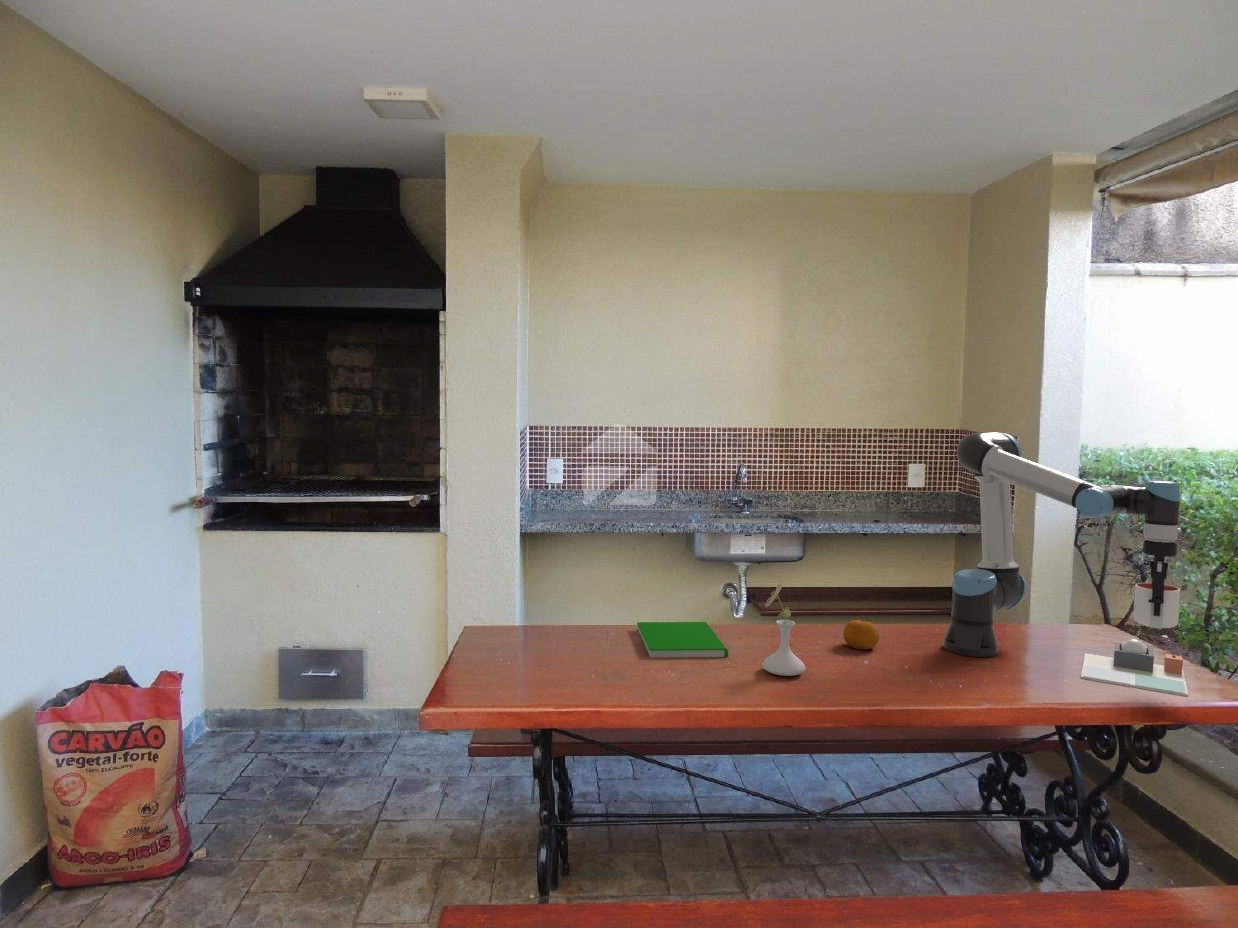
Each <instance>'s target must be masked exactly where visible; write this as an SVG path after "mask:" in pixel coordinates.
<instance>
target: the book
mask: <svg viewBox="0 0 1238 928" xmlns="http://www.w3.org/2000/svg"><path fill="white" fill-rule="evenodd" d="M636 624H637V631H638V633H639V636H640V638H641V639H642V642H643V645H644V646H645V649H646V651H647V653H648V656H649V657H650V658H728V657H729V650H728V649H727V648H726V646H725V645H724V643H723V642H722V640H720V638H719V637H718V636H717V634H716V633H715V631H714V630H713V629H712V627H710V625H709V624H708V623H707V622H706V621H655V622H654V621H651V622H649V621H648V622H647V621H646V622H645V621H637V622H636Z"/></svg>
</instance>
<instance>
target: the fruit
mask: <svg viewBox="0 0 1238 928" xmlns="http://www.w3.org/2000/svg"><path fill="white" fill-rule="evenodd" d="M842 635H843V639H844V641H845V643H847V645H848V646H850V647H851V648H853V649H857V650H869V649H872V648H875V646H876V645H877V644H878V642H879V641H880V632H879V629H878V628H877V626H876V625H875V624H874V623H872V622H870V621H863V620H860V619H854V620H850V621H849V622H847V624H846V625H845V626H844V628H843V634H842Z"/></svg>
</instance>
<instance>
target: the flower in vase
mask: <svg viewBox="0 0 1238 928" xmlns="http://www.w3.org/2000/svg"><path fill="white" fill-rule="evenodd" d="M782 587H783V582H779V583H778V584H777V586H776V589H775V591H774V590H773V591H772V592H771V595H770V597H769V598H768V599H767V600H766V603H765V604H764V606H765V607H766V608H768V607H770V605H771V604H772V603H773V602H774V601H775V599H776V600H778V602H779V604H780V607H781V612H780V613H779V614H778V615H777V617H776V619H775V621H776V622H775V623H776V624H777V627H779V633H780V634H779V635H780V644H779V648H778V649H777V651H775V652H774V653H772V654H770V656H767V657H766V658H765V659H764V660H763V662H762V664H761V665H762V668H763V669H764V670H765V671H766V672H768V673H771V674H773V675H776V676H783V677H794V676H798V675H801V674H803V673H804V672H805V671H806V665H805V664H804V662H803V661H802V660H801V659H800V658H799V657H797V656H796V655H795V654H794V652H793V651H792V650H791V648H790V635H791V631H792V630H793V629H792V628H793V627H794V626H795V625H796V622H795V621H793V620H790V619H788V618H791V615H792V613H791V610H790V608H789V606H787V607H785V608H784V606H783V604H782V601H781V599H780V597H779V594H780V592H781V590H782ZM782 617H783V619H781V618H782Z"/></svg>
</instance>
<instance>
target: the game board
mask: <svg viewBox="0 0 1238 928" xmlns="http://www.w3.org/2000/svg"><path fill="white" fill-rule="evenodd" d="M1163 663H1164V664H1163V665H1162V664H1155V663H1153V672H1147V671H1141V670H1134V669H1128V668H1122V667H1116V666H1113V664H1114V657H1110V656H1104V655H1097V654H1092V653H1087V652H1086V653H1084V658H1083V665H1082V670H1081V676H1080V678H1081V679H1085V680H1090V681H1095V682H1101V683H1109V684H1113V685H1118V686H1125V687H1131V688H1137V689H1143V690H1148V691H1154V692H1160V693H1164V694H1165V693H1167V694H1173V695H1179V696H1183V697H1188V696H1189V692H1188V688H1187V683H1186V678H1185V674H1184V669H1183V665H1184V664H1183V663H1184V659H1183V656H1181V655H1174V654H1173V655H1172V654H1167V653H1165V654H1164V662H1163Z"/></svg>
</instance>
